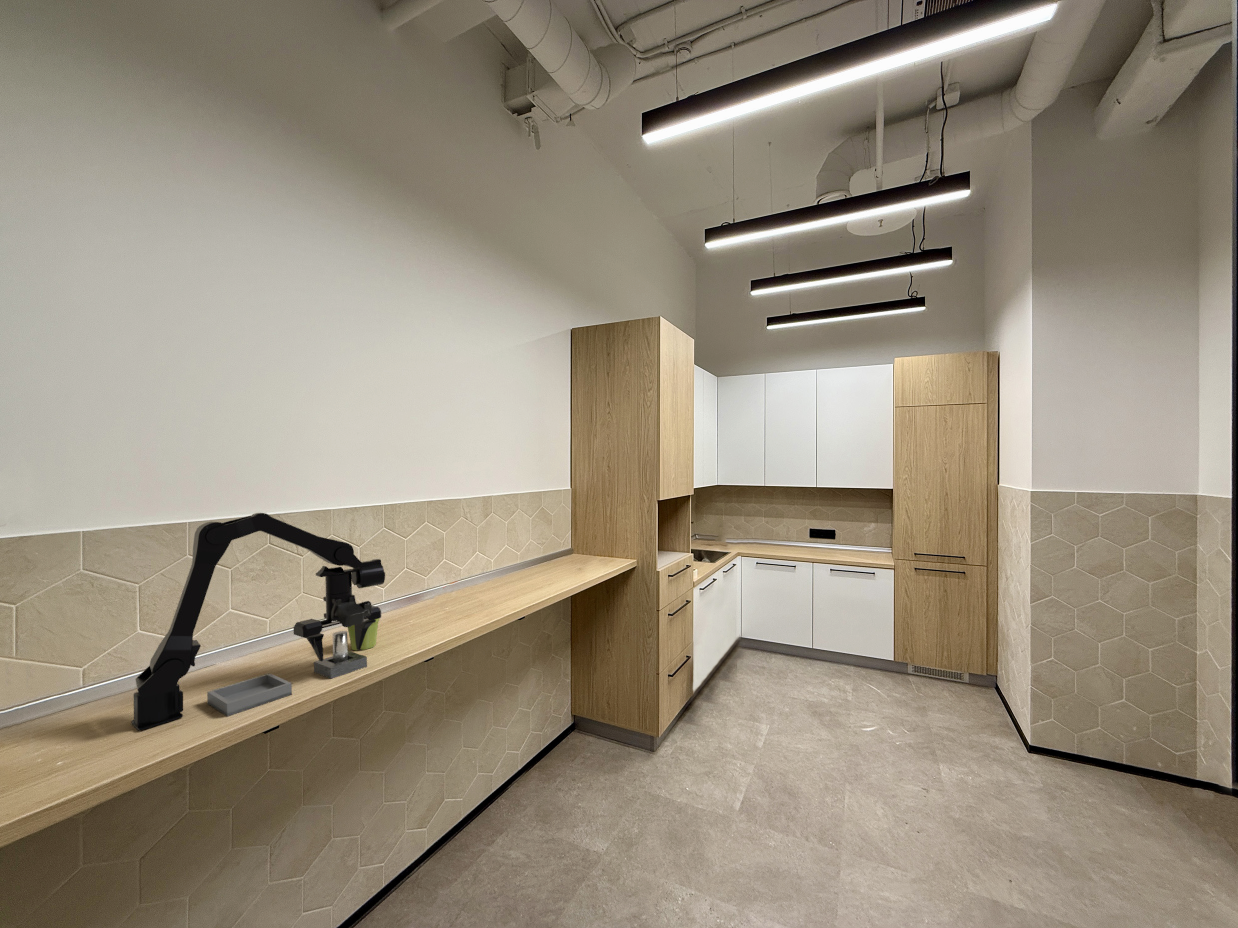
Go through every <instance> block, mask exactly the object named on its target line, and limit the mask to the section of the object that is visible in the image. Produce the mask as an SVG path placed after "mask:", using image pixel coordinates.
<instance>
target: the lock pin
mask: <svg viewBox="0 0 1238 928" xmlns="http://www.w3.org/2000/svg"><path fill="white" fill-rule="evenodd" d="M348 647H349V646H348V631H347V630H340V631H335V632H333V633H332V656H333V663H334V664H337V663H340V662H343V661H346V660H348V651H349V650H348V649H349V648H348Z"/></svg>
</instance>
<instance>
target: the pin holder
mask: <svg viewBox="0 0 1238 928" xmlns="http://www.w3.org/2000/svg"><path fill="white" fill-rule="evenodd" d="M364 667H365V668H367V667H368V657H367V656H365V655H363V654H360V653H356V652H353V651H350V650H348V660H346V661H343V662H340V663H337V664H334V663H333V655H332V656H329V657H325V658H323V661H319V659H318V660H315V661H313V673H316V674H318V675H321V676H323V677H326V678H328V679H335V678H337V677H341V676H344V675H347V674H351V673H352V671H353V672H355V670H356V671H358V669H359V670H361V668H362V669H364Z"/></svg>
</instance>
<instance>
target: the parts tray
mask: <svg viewBox="0 0 1238 928" xmlns="http://www.w3.org/2000/svg"><path fill="white" fill-rule="evenodd" d="M292 684H293V683H292V682H290V681H288V680H286V679H284V678H282V677H279V676H276V675H274V674H272V673H271V672H269V673H266V674H265V673H264V674H263V675H259V676H255V677H253V678H249V679H246V680H243V681H240V682H239V681H238V682H236V683H233V684H228V685H226V686H223V687H219V688H216V689H212V690H210V691H207V692H206V695H207V701H206V702H207V705H209V706H211V708H213V709H215V710H217V711H218V712H220V713H221V714H223V715H224V716H226V717H231V716H233V715H235V714H239V713H241V712H245V711H248V710H250V709H253V708H256V707H260V706H263V705H265V704H268V702H269V703H272V702H275V701H277V700H280V699H282V698H286V697H288V696H292V695H293V690H292V689H293V688H292V687H293V686H292Z"/></svg>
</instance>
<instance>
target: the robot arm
mask: <svg viewBox="0 0 1238 928" xmlns="http://www.w3.org/2000/svg"><path fill="white" fill-rule="evenodd" d="M257 532H261V533H264V534H266V535H270V536H272V537H274V538H277V539H280V540H282V541H285V542H287V543H290V544H292V545H295V546H297V547H300V548H301V549H306V550H307V551H309V552H310V553H312V554H313V555H315V556H316V557H317V558H319V559H321V560H322V561H324V562H326V563H327V564H331V565H335V567H330V568H329V567H328V566H327V565H323V566H322V567H320V569H319V570H318V571H317V572H316V573H315V576H317V577H320V578H325V596H323V602H325V613H323V618H324V619H321V620H318V619H315V618H314V619H313V618H309V619H306V620H300V621H297V622H295V624H294V626H293V635H294V636H297V637H301V638H304V639H306V640H307V641H308V642H309V644H310V646H311V647H312V649H313V651H314V653H315V655H316V656H317V659H318V660H319V661H323V659H324V649H323V648H324V647H323V639H324V637H325V634H324V633H321V632H323V629H325V628H330V627H333V626H337V625H341V626H342V627H343V628H348V627H351V626H352V625H354V627H355V642H356V648H357V651H360V650H362V649H361V646H362V643H363V640H364V637H365V634H366V632H367V630H368V628H369V626H370V625H371V624H372V623H375V622H376V620H375V619H378V618H380V619H381V618H382V609H381V608H380V607H379V606H375V605H372V602H371V601H369V600H367V601H362V602H359V603H357V601H356V597H355V594H353V585H354V586H356V587H357V588H358V589H363V588H364V589H365V588H369V587H375V586H381V585H383V584H384V583H385V581H386V572H385V570H384V566H383V564H382V560H381V558H375V559H371V560H365V561H361V560H360V559H359V558H358V557H357V556H356V555H355V551H354V550H355V549H354V547H353V546H352V545H351V544H350V543H348V542H344V541H340V540H335V539H332V538H327V537H322V536H318V535H316V534H314V533H310V532H308V531H306V530H304V529H301V528H299V527H297V526H295V525H292V524H290V523H288V522H285V521H282V520H279V519H277V518H274V517H273V516H271V514H268V513H266V512H256V513H253V514H251V515H247V516H243V517H241V518H236V519H232V520H228V521H224V522H221V521H208V522H204V523H203V524H201V525H199V526H198V527H197V528H196V530H195V532H194V537H193V545H192V561H191V564H190V565H191V566H190V569H189V571H188V574H187V577H186V581H185V583H184V586H183V588H182V589H183V590H182V592H181V595H180V598H179V601H178V603H177V607H176V609H175V612H174V616H173V618H172V621H171V624H170V626H169V629H168V631H167V633H166V634H165V635H164V637H163V638H162V640H161V642H160V643H158V647H156V650H155V651H154V654H153V655H152V657H151V659H150V662H149V666H147V667H146V669H144V670H143V671H142V672H141V673H139V675H138V676H137V677H136V678H135V679H134V680H135V684H136V689H137V692H134V693H133V719H132V720H131V721H130V724H131V725H132V726H133V727H134V728H135V729H136V730H137V731H138V732H139V731H144V730H147V729H150V728H153V727H157V726H160V725H163V724H166V723H168V722H173V721H175V720H178V719H181V718H183V712H184V691H183V690H182V689H181V688H180V684H178V683H179V681H180V679H182V678H183V677H185V676H186V675H187V674H188V672H189V670H190V669H191V666H192V667H195V666H196V663H195V661H196V658H197V657H196V656H197V654H198V653H199V651H200V648H201V644H200V643H199V641H198V640H197V639H194V632H195V629H196V626H197V623H198V619H199V616H200V614H201V611H202V609H203V604H204V601H205V598H206V596H207V593H208V590H209V587H210V584H211V580H212V579H213V574H214V572H215V569H216V566H217V565H218V563H219V562H220V561H221V559H222V558H223V556H224V555H225V554H226V551H227V550H228V548H229V546H230V544H231V542H232V541H234V540H237V539H240V538H243V537H247V536H249V535H251V534H254V533H257ZM336 566H337V567H336ZM341 566H342V567H341ZM343 566H344V567H349V568H348V569H344V567H343Z"/></svg>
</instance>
